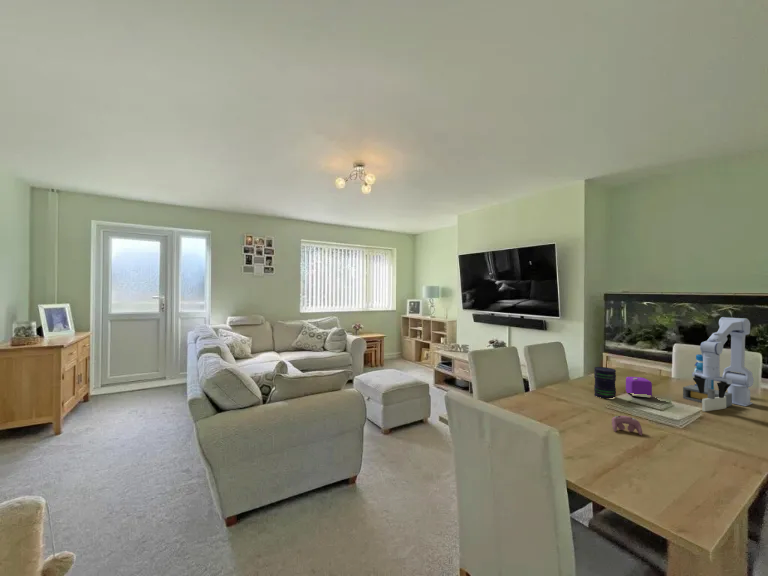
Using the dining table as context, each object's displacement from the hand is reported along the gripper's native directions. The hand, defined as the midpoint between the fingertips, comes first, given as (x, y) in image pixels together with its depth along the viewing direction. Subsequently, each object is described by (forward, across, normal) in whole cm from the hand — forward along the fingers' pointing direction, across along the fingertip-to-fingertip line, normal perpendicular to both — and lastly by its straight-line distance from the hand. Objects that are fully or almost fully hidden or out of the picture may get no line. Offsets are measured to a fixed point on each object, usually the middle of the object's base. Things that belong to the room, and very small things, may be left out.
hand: (711, 395), depth 158 cm
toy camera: (+8, -28, -10) cm, 30 cm away
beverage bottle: (+8, -24, +37) cm, 44 cm away
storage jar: (+8, -30, -30) cm, 43 cm away
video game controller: (+8, +6, -63) cm, 63 cm away
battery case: (+8, -9, +14) cm, 18 cm away
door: (+7, 0, +2) cm, 8 cm away
